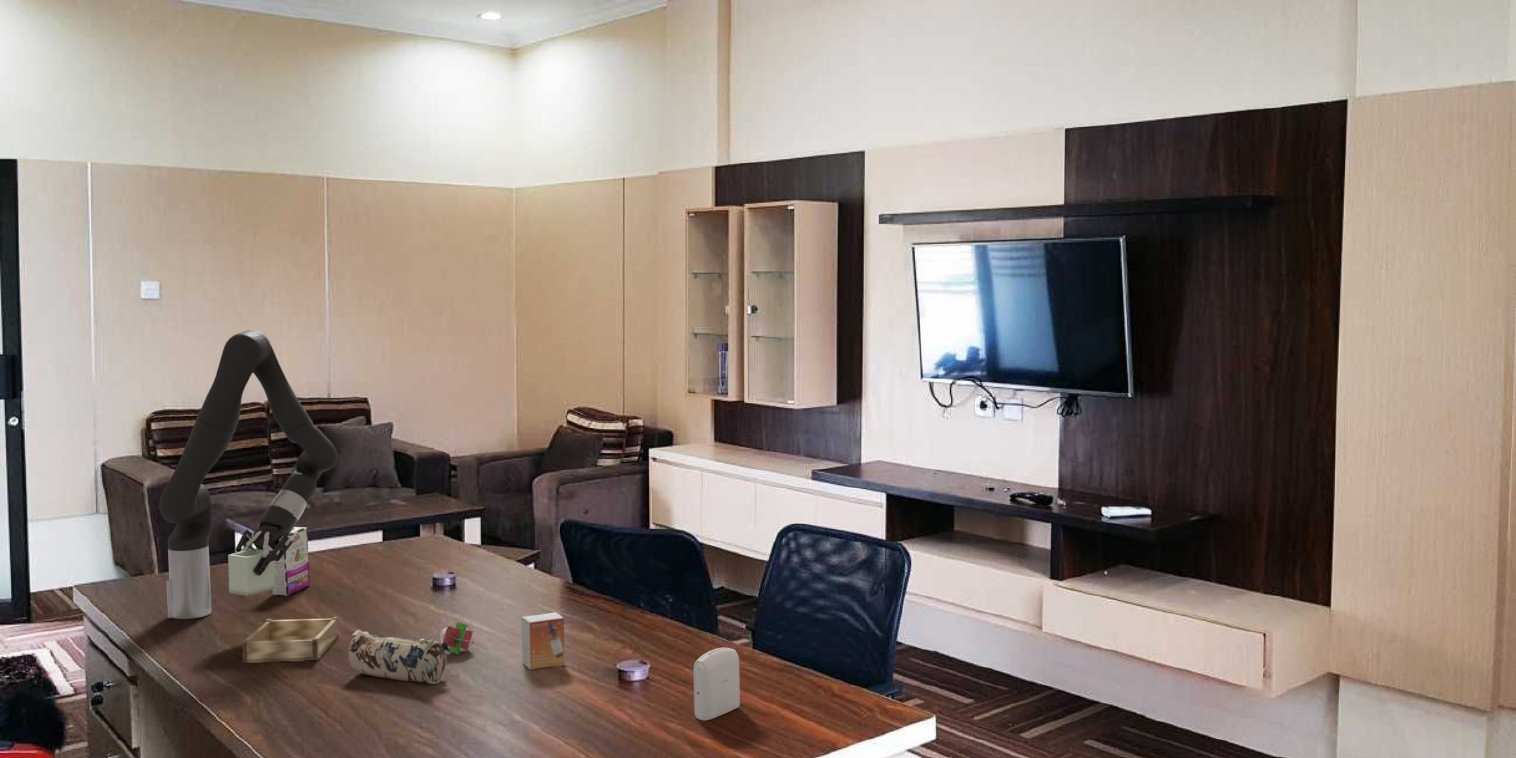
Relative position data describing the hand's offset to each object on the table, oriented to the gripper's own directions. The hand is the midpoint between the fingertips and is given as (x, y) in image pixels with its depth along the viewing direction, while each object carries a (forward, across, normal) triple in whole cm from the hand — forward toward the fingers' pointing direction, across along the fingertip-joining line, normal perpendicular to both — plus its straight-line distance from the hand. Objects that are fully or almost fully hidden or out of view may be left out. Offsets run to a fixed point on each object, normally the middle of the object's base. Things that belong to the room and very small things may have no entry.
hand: (246, 571), depth 290 cm
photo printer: (+10, +124, +9) cm, 124 cm away
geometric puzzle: (+3, +53, +18) cm, 56 cm away
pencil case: (+17, +52, +5) cm, 55 cm away
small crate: (+2, 0, +5) cm, 5 cm away
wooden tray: (+13, +17, +9) cm, 23 cm away
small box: (+2, +76, +18) cm, 78 cm away
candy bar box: (-15, -24, +38) cm, 47 cm away
